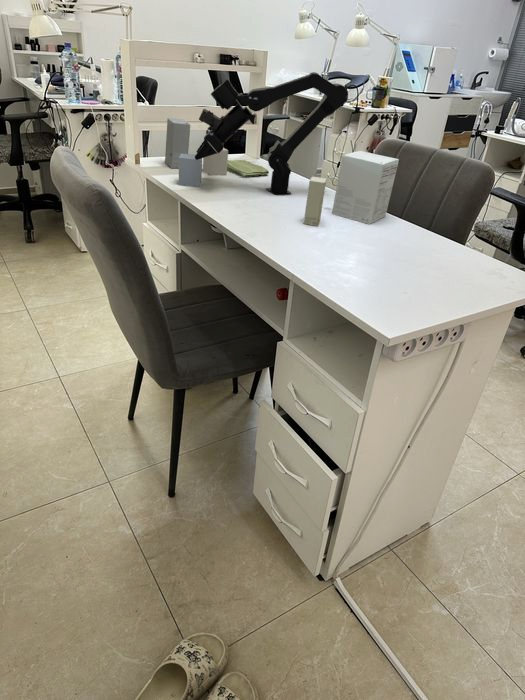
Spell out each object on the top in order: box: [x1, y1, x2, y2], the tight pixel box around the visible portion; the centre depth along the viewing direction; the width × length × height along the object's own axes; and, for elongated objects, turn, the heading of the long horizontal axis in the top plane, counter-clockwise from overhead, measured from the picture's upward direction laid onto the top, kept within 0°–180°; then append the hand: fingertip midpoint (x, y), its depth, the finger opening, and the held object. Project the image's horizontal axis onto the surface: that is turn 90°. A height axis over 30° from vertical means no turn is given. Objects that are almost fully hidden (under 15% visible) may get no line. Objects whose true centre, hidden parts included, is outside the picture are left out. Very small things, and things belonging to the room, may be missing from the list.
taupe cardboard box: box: [202, 147, 229, 176], centre depth 179 cm, size 7×7×9 cm
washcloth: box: [227, 159, 270, 178], centre depth 187 cm, size 13×18×3 cm
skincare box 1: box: [164, 117, 191, 169], centre depth 179 cm, size 8×7×16 cm
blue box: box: [178, 153, 203, 188], centre depth 162 cm, size 7×7×9 cm
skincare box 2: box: [303, 176, 327, 227], centre depth 140 cm, size 6×4×12 cm
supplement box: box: [331, 150, 400, 225], centre depth 150 cm, size 13×13×18 cm
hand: (196, 155), depth 160 cm, fingers open, 9 cm apart
